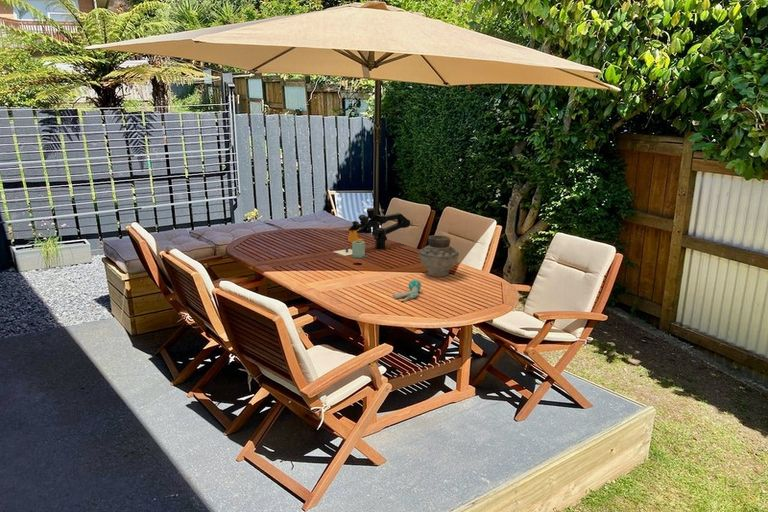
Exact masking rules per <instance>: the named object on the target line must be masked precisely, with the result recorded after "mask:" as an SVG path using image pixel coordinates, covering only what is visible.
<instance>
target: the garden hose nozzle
mask: <svg viewBox="0 0 768 512" xmlns="http://www.w3.org/2000/svg"><path fill="white" fill-rule="evenodd" d="M421 288H422V283H421V281H420V280H418V279H415V278H414V279H412V280H410V281H409V282H408V289H409V290H410V291H404V292H398V293H394V294H392V298H393V297H394V298H395V300H397V298H398V299H401V298H403V299H401V300H400V301H405V302H408V301H409V300H410V299H414V298H417V297H418V296H419V292H420V290H421ZM394 298H393V299H394Z"/></svg>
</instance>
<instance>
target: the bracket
mask: <svg viewBox="0 0 768 512" xmlns="http://www.w3.org/2000/svg"><path fill="white" fill-rule="evenodd" d="M357 231H358V230H357ZM358 234H360V233H357V232H356V231H349V233H348V238H347V241H348V242H349V243H350V242H355V241H363V242H364V239H363V238H359V237H358Z"/></svg>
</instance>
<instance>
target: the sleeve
mask: <svg viewBox="0 0 768 512" xmlns="http://www.w3.org/2000/svg"><path fill="white" fill-rule="evenodd" d="M351 244H352V245H351V246H352V248H351V250H352V254H351V256H352V257H358V258H357V259H359V258H361V257H363V256H365V255H366V242H365V241H364V240H363V241H355V242H352V243H351ZM352 257H351V258H352Z"/></svg>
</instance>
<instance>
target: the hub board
mask: <svg viewBox="0 0 768 512" xmlns="http://www.w3.org/2000/svg"><path fill="white" fill-rule="evenodd" d="M334 253H336V254H337V255H338V254H339V255H341V256H349V255H350V256H352V248H349V246H346V247H345V249H342V250H334V251H333V253H332V254H334Z"/></svg>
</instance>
